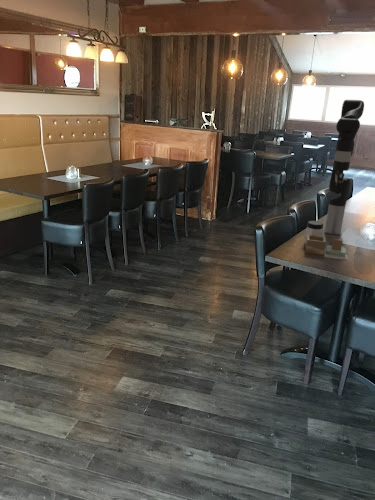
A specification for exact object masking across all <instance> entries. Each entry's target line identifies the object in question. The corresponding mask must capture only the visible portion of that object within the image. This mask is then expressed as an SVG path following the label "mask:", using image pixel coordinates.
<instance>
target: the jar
mask: <svg viewBox="0 0 375 500" xmlns="http://www.w3.org/2000/svg"><path fill="white" fill-rule="evenodd" d="M323 231H324V222H322V221H319V220H318V221H317V220H308V222H307V226H306V230H305V235H304V242H303V243H304V244H305V245H306V241H307V235H312V236H321V237H323Z"/></svg>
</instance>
